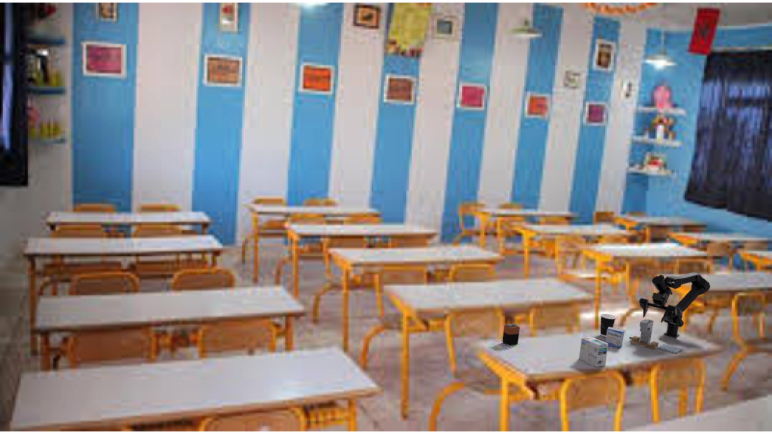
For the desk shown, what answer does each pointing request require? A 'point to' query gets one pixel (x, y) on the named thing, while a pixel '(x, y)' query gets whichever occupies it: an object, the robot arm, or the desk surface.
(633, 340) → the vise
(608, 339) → the medicine box
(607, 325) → the dixie cup
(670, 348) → the mat
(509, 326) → the battery
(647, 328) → the grey stone block
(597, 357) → the light bulb box
